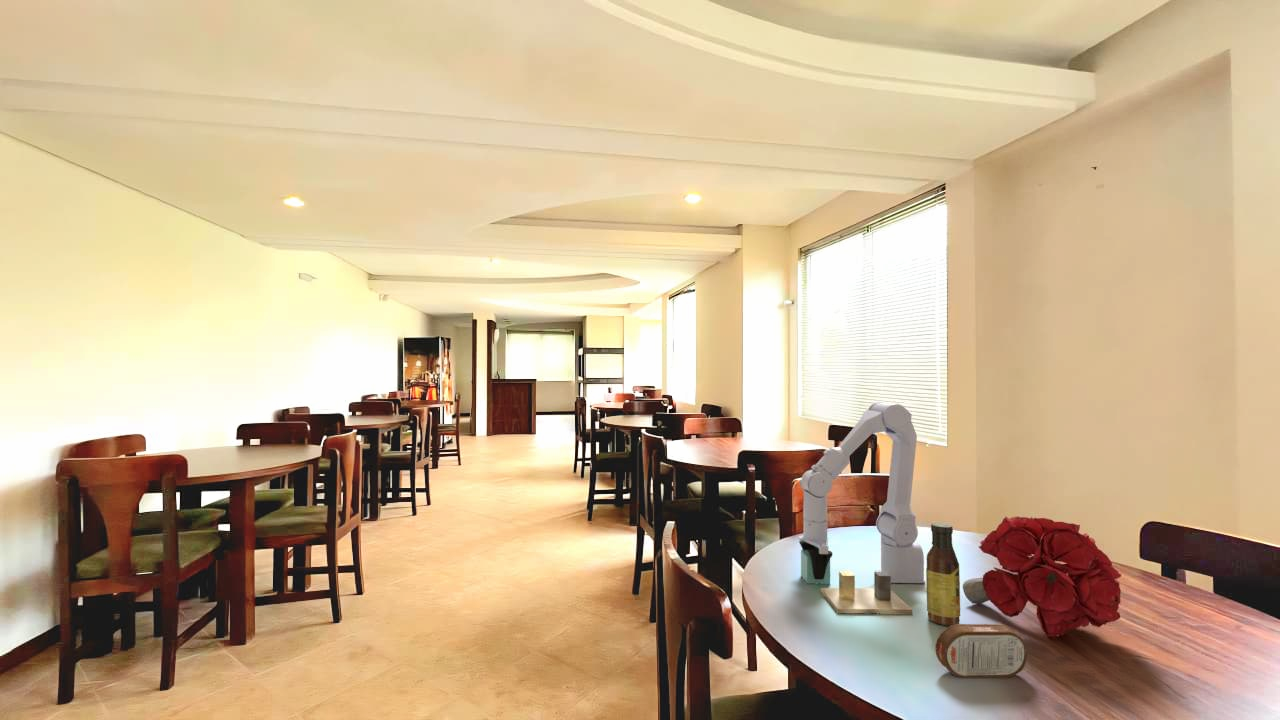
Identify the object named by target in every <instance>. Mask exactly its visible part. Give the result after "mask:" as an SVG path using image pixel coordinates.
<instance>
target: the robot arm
mask: <svg viewBox="0 0 1280 720" xmlns="http://www.w3.org/2000/svg"><path fill="white" fill-rule="evenodd" d="M883 432H884V433H885V434H886V435H887V436H888V437H889V438H890V439H891V440H892V446H891V447H892V448H891V457H890V468H889V475H888V487H887V498H886V502H885V503H884V504H883V505H882V506H881V508H880V513H879V515H878V517H877V519H876V522H875V526H876V530H877V532H879V534H880V569H878V570H877V569H876V570H874V572H887V573H888V574H889V575H890V576H891V584H926V580H925V557H924V552H923V548H922V546H921V544H919V543H918V542H916V540H917V538H918V535H919V533H918V532H919V531H918V527H917V524H916V518H917V517H916V515H915V513H914V510H913V509H912V507H911V502H912V501H911V499H912V489H913V480H914V468H915V460H916V459H915V458H916V449H917V442H918V441H917V439H918V438H917V437H918V436H917V433H916V430H915V427H914V425H913V422H912V413H911V412H910V411H909V410H908V409H907V408H906V407H905V406H903V405H901V404H899V403H885V402H880V401H878V402H877V401H876V402H874V403H872V404H871V405H870V406H869V407H868V409H866V410H865V411H864V412H863V413H862V415H861V417H860V419H859V420H858V422H857V423H856V424H855V425H854V426H853V428H852V429H851V431H849V433H848V434H847V435H846V436H845V437H844V439H843V440H842V441H841V443H840V444H839V445H838V446H836V447H830V448H829V449H825V450H824V451H823V454H824V455H822V457H821V458H820V459H819V461H817V463H815V464H813V465H812V466H811V469H810V470H807V471H805V472H804V473H803V474H802V476H801V479H800V480H799V486H800V487H801V489H802V491H803V509H802V510H803V511H802V512H803V513H802V514H803V516H802V517H803V531H802V532H803V534H802V535H799V536H798V540H799V541H798V542H799V545H800V547H801V550H807V551H808V553H809V555H810V558H811V562H812V568H813V575H814V578H815V579H824V576H825V572H826V568H827V564H828V562H829V560H830V561H831V558H832V556H833V552H832V551H831V550H829V537H828V494H829V493H831V491H832V489H833V488H832V487H833V482H834V481H835V480H836V479H837V478H838V477H839V475H841V473H842V472H843V471H844V470H845V469H846V467H848V466H849V465H850V456H851V455H852V454H853V453H854V452H855V450H857V449H858V448H859V447H860V446H861V445H862V444H863V443H864V442H865V441H866V440H867V439H868V438H869V437H870V436H871V435H873V434H878V433H883Z"/></svg>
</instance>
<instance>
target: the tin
mask: <svg viewBox="0 0 1280 720" xmlns="http://www.w3.org/2000/svg"><path fill="white" fill-rule="evenodd" d="M934 649H935V654H936V657H937V660H938V662H939V663H940V664H941V665H942V666H943V667H944V668H946V670H948V671H949V672H950V673H951V674H952V675H954V676H956V677H959V678H964V679H971V678H972V679H973V678H975V679H978V678H982V679H983V678H984V679H985V678H986V679H987V678H988V679H990V678H992V679H993V678H995V679H996V678H997V679H998V678H1000V679H1004V678H1005V679H1006V678H1011V677H1014V676H1016V675H1017V674H1019V673H1021V671H1023V670H1024V667H1026V664H1027V660H1028V656H1029V655H1028V654H1029V653H1028V646H1027V643H1026V641H1025V640H1024V639H1023V638H1022V636H1020V635H1019V634H1018V633H1017V632H1015V630H1013V629H1012V627H1010V626H1008V625H1005V624H998V623H995V624H993V623H991V624H989V623H987V624H986V623H984V624H983V623H980V624H979V623H978V624H977V623H976V624H975V623H973V624H972V623H958V624H956V625H952V626H948V627H946V628H945V629H944V630H942V632H940V634H939V635H938V637H937V639H936V643H935V648H934Z"/></svg>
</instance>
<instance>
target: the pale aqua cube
mask: <svg viewBox="0 0 1280 720" xmlns="http://www.w3.org/2000/svg"><path fill="white" fill-rule="evenodd" d="M801 576H802V577H803V578H804V579H803V578H802V577H801ZM800 577H801V578H802V579H803V581H804V580H805V581H806V582H807V583H812V584H811V585H831V559H830V560H829V562H828V564H827V568H826V572H825V576H824V579H815V578H814V575H813V568H812V562H811V558H810V555H809V553H808V551H807V550H803V549H800ZM805 581H804V582H805ZM806 582H805V583H806ZM807 583H806V584H807ZM813 583H815V584H813ZM816 583H818V584H816ZM819 583H820V584H819ZM822 583H823V584H822Z"/></svg>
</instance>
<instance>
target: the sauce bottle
mask: <svg viewBox="0 0 1280 720" xmlns="http://www.w3.org/2000/svg"><path fill="white" fill-rule="evenodd" d="M953 528H954V527H953V525H951V524H950V523H949V524H948V523H943V522H932V523H931V524H930V531H931V536H932V539H931V545H932V546H931V548H930V549H929V550H928V552H927V554H926V569H925V570H926V571H925V572H926V575H925V576H926V579H925V584H926V611H927V617H928V619H929V620H930V621H931V622H933V623H935V624H938V625H942V626H948V627H950V626H952V625H956V624H960V616H961V590H960V589H961V585H960V584H961V582H960V581H961V579H960V578H961V577H960V563H959V560H958V557H957V555H956V553H955V549H954V547H953V533H954V531H953Z"/></svg>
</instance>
